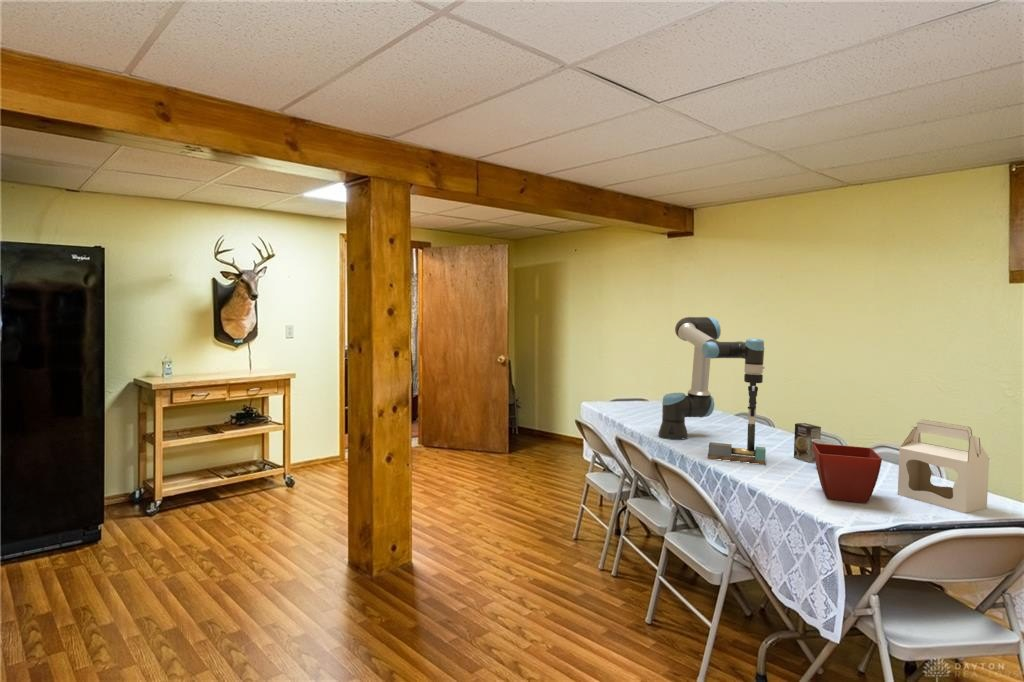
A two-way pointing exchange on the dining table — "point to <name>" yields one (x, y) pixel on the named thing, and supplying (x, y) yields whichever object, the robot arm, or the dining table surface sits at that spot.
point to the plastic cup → (823, 442)
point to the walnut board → (737, 458)
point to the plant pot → (847, 471)
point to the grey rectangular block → (720, 449)
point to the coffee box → (805, 441)
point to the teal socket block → (760, 453)
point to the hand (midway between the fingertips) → (751, 420)
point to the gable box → (967, 464)
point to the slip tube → (750, 443)
